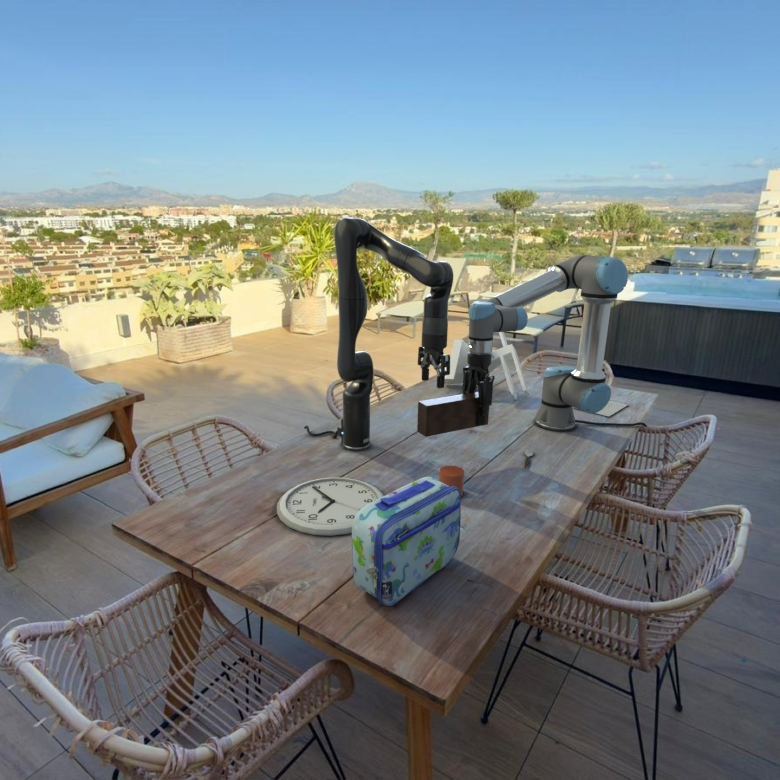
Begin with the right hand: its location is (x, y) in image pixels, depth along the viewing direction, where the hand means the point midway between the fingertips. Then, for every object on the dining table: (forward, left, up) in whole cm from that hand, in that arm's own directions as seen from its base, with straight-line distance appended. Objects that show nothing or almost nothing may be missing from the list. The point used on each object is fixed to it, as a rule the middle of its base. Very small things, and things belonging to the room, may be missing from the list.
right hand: (474, 421), depth 171 cm
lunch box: (+16, +66, -13) cm, 69 cm away
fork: (-18, 0, -13) cm, 22 cm away
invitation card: (-57, -61, -13) cm, 84 cm away
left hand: (+14, +10, +15) cm, 23 cm away
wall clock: (+39, +38, -13) cm, 56 cm away
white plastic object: (-5, -73, -13) cm, 74 cm away
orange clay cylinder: (+7, +26, -13) cm, 30 cm away
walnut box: (+7, +5, -1) cm, 9 cm away
